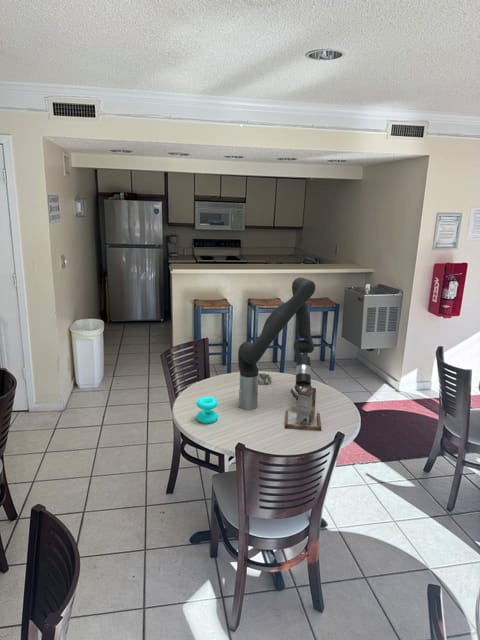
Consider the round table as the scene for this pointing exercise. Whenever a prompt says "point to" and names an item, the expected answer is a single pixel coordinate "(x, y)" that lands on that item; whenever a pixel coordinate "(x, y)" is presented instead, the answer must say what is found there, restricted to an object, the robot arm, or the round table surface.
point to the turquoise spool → (207, 410)
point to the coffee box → (306, 405)
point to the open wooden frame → (303, 427)
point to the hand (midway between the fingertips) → (302, 408)
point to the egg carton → (264, 378)
